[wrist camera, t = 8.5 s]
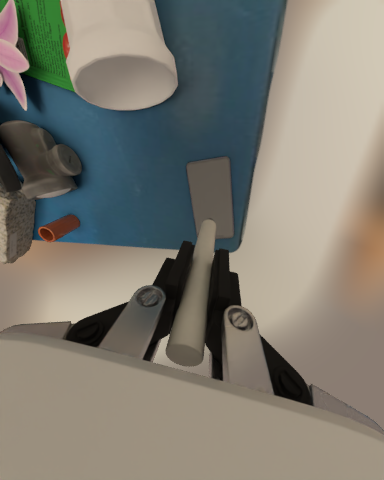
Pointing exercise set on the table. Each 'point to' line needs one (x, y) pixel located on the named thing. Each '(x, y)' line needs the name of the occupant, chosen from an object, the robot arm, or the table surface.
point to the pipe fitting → (40, 160)
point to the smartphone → (212, 194)
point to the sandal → (8, 173)
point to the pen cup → (58, 228)
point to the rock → (15, 224)
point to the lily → (11, 54)
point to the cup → (118, 53)
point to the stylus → (194, 303)
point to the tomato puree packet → (43, 40)
